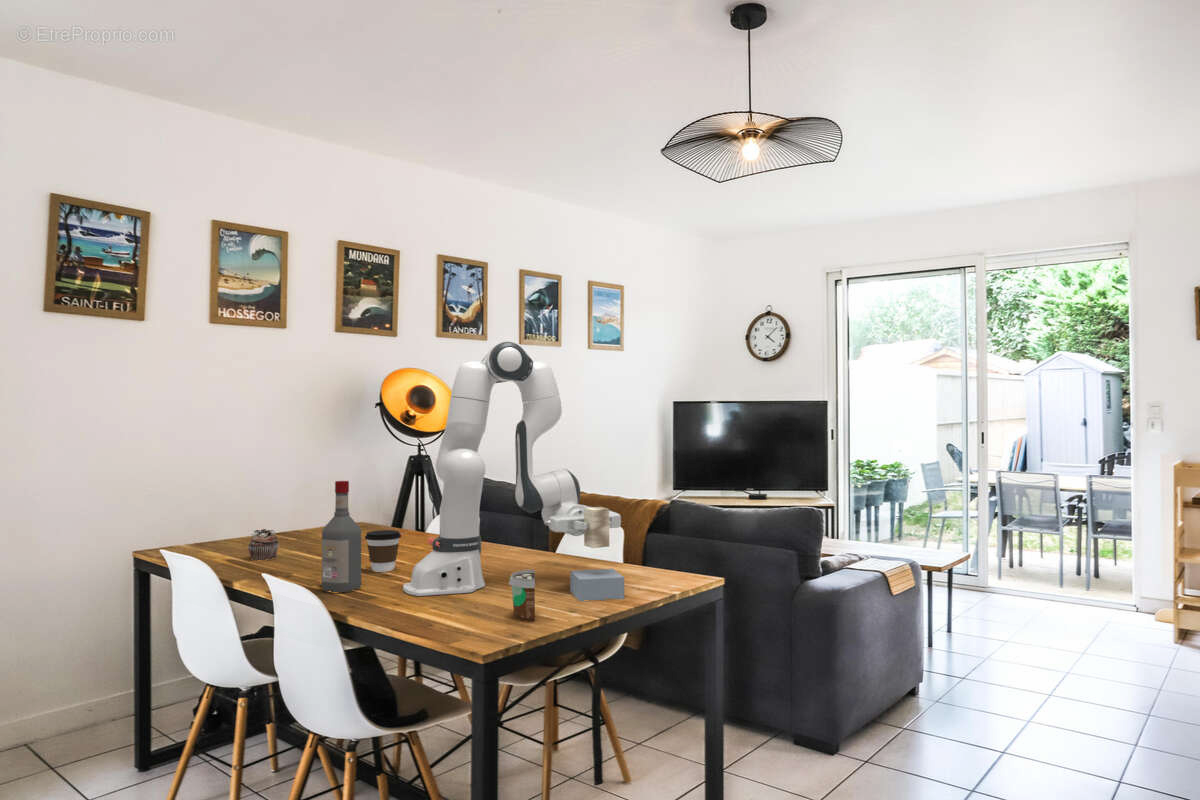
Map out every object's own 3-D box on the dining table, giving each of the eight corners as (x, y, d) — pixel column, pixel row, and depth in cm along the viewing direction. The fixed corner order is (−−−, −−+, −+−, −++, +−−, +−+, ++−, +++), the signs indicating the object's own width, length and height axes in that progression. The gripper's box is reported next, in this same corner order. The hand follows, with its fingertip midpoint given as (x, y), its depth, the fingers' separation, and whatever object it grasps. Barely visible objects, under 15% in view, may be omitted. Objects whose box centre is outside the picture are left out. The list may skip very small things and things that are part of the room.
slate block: (579, 602, 201) (579, 579, 201) (570, 592, 213) (570, 570, 213) (624, 600, 204) (624, 577, 204) (612, 590, 216) (612, 568, 216)
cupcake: (284, 556, 268) (284, 527, 268) (267, 562, 258) (267, 531, 258) (259, 556, 269) (259, 527, 270) (241, 561, 260) (241, 531, 260)
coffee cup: (385, 566, 250) (385, 528, 250) (408, 570, 243) (408, 531, 244) (357, 572, 241) (357, 533, 241) (380, 576, 234) (380, 536, 235)
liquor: (343, 594, 210) (344, 483, 211) (316, 591, 214) (317, 482, 214) (365, 587, 219) (366, 480, 219) (339, 585, 222) (339, 479, 223)
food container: (509, 610, 192) (509, 569, 193) (534, 609, 193) (534, 569, 193) (508, 623, 180) (508, 579, 180) (534, 622, 181) (534, 579, 181)
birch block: (592, 548, 205) (592, 510, 206) (584, 545, 210) (584, 508, 210) (609, 546, 208) (609, 508, 208) (600, 543, 212) (600, 507, 212)
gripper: (541, 510, 215) (562, 516, 203) (606, 506, 225) (630, 511, 213) (541, 533, 215) (562, 540, 203) (606, 528, 225) (630, 534, 213)
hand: (598, 525), depth 208 cm, fingers closed on birch block, 5 cm apart
